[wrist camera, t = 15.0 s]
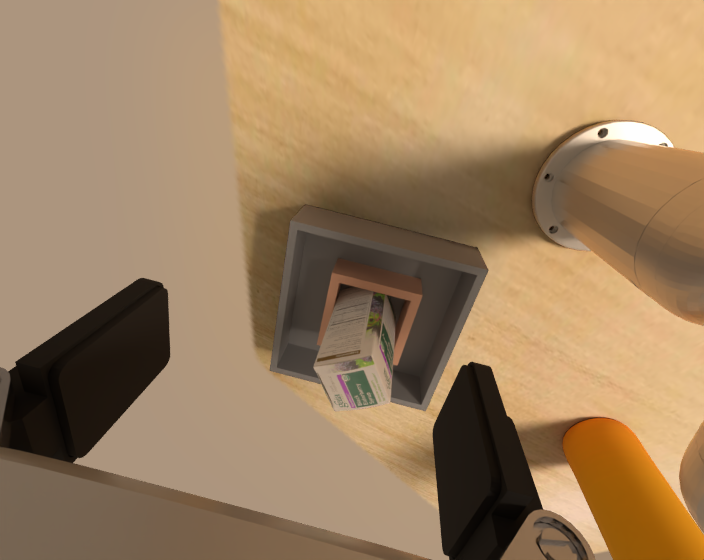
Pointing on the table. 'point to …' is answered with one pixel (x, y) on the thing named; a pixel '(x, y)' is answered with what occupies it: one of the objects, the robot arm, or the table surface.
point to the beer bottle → (629, 494)
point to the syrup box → (358, 351)
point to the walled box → (382, 277)
